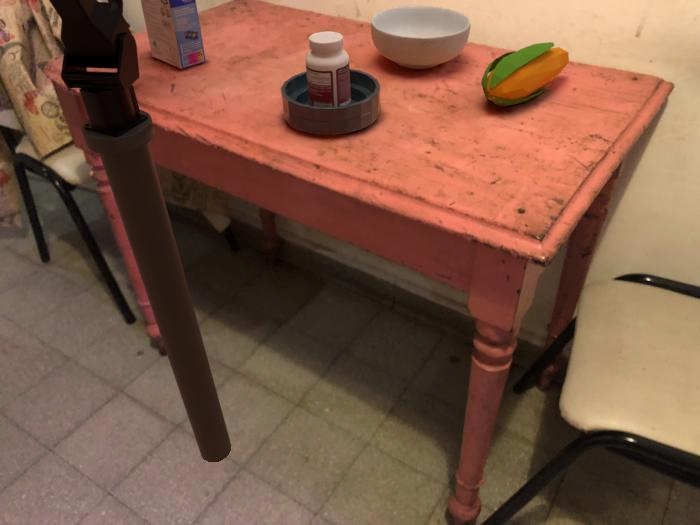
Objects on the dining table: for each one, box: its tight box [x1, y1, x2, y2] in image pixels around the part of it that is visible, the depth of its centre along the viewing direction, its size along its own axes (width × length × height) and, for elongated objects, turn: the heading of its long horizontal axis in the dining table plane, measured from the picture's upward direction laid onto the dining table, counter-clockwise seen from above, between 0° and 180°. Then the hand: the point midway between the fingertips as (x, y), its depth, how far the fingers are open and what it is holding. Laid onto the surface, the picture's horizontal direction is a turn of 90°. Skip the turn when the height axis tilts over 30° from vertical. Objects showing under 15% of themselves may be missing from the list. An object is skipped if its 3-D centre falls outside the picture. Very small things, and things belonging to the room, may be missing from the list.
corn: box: [480, 41, 570, 107], centre depth 90 cm, size 7×8×20 cm
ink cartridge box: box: [140, 0, 207, 70], centre depth 102 cm, size 10×6×14 cm, turn 47°
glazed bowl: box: [280, 68, 381, 136], centre depth 86 cm, size 14×14×4 cm
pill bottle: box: [305, 30, 351, 107], centre depth 84 cm, size 6×6×11 cm
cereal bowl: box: [370, 5, 471, 70], centre depth 101 cm, size 17×17×7 cm
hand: (141, 4), depth 89 cm, fingers open, 9 cm apart
